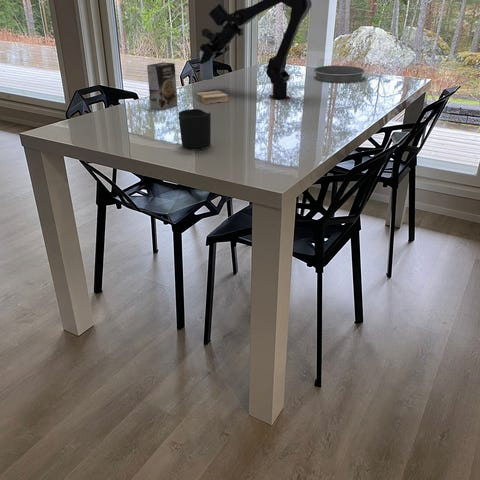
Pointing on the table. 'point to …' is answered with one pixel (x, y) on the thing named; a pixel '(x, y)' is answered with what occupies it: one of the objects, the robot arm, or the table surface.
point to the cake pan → (339, 74)
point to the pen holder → (195, 128)
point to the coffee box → (162, 85)
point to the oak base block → (212, 97)
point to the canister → (206, 69)
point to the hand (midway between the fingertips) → (203, 62)
